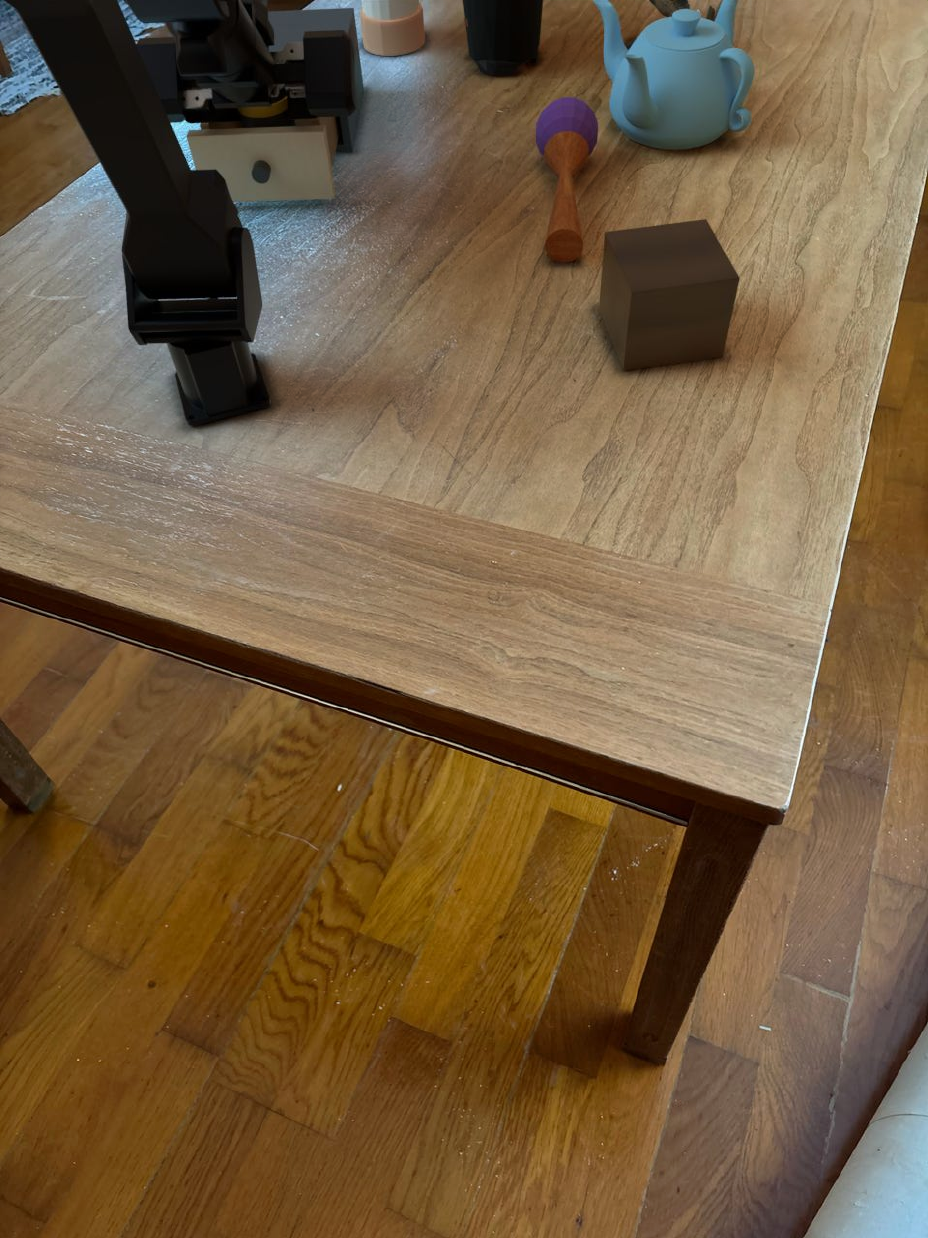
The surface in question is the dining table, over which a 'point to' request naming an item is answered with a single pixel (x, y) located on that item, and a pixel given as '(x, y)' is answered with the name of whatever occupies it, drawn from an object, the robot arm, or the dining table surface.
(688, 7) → the eagle figurine
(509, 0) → the portable speaker
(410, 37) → the pepper shaker
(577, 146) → the purple maraca
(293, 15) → the cabinet
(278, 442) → the dining table surface
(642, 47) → the teapot
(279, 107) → the canister
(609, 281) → the block stand
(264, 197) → the drawer
